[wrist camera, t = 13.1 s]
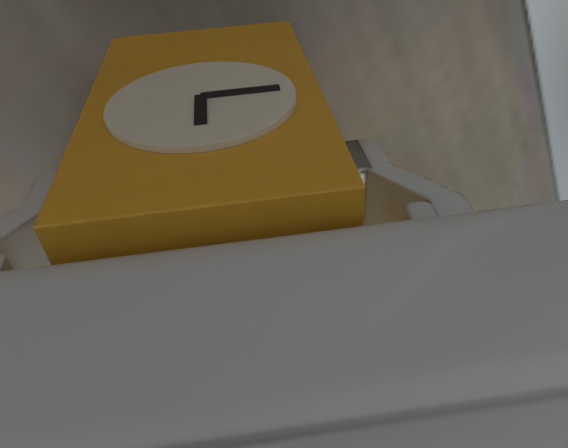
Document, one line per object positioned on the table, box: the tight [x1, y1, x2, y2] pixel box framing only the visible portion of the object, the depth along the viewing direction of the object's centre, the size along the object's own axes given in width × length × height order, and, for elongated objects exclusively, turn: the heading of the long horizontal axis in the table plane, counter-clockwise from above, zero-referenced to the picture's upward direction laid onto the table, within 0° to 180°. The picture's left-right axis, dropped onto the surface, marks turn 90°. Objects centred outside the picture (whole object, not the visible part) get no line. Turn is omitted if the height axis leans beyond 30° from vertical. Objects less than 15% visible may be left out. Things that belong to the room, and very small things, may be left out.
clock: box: [33, 21, 366, 265], centre depth 15 cm, size 10×6×10 cm
